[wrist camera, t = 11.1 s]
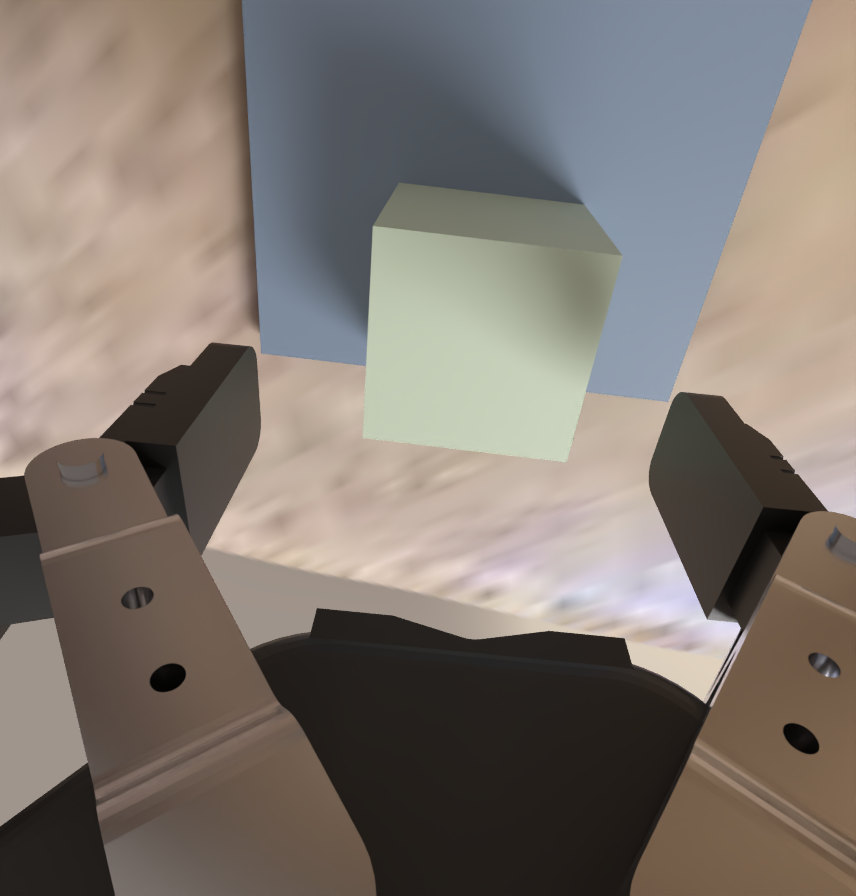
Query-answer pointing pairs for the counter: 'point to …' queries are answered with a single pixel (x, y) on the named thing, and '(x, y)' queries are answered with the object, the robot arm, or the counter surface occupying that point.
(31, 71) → the counter surface
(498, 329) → the sage block
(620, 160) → the board
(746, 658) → the robot arm
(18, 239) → the counter surface
